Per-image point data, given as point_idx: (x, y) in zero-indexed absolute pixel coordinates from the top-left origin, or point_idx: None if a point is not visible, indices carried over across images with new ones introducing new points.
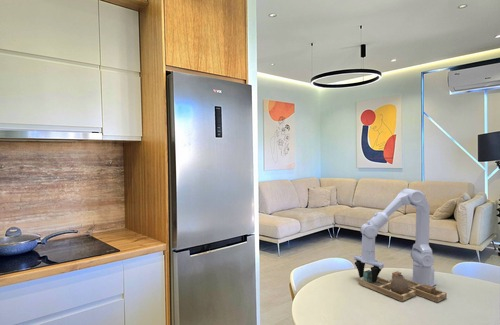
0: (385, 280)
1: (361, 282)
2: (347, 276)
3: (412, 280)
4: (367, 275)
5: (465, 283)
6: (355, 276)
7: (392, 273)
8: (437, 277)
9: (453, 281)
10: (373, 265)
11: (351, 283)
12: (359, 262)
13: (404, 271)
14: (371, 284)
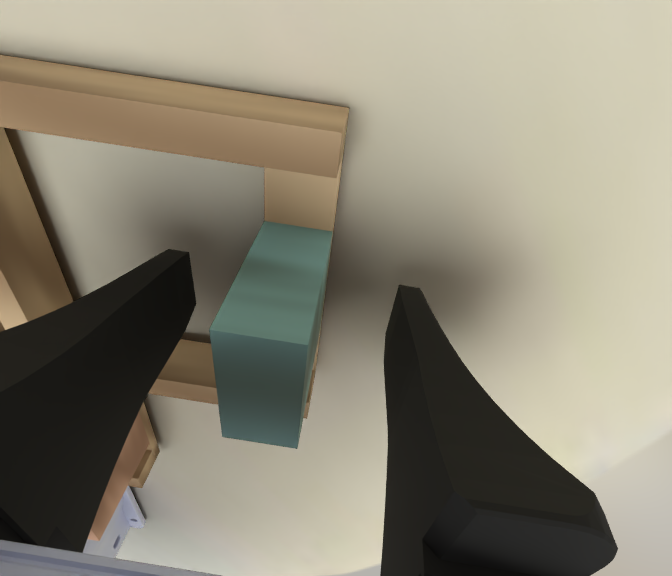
0: None
1: (279, 110)
2: (628, 279)
3: (125, 492)
4: (229, 300)
5: None
6: (520, 342)
7: None
8: (130, 558)
9: None
10: (10, 554)
11: (477, 51)
12: (461, 573)
13: (275, 558)
14: (28, 84)
